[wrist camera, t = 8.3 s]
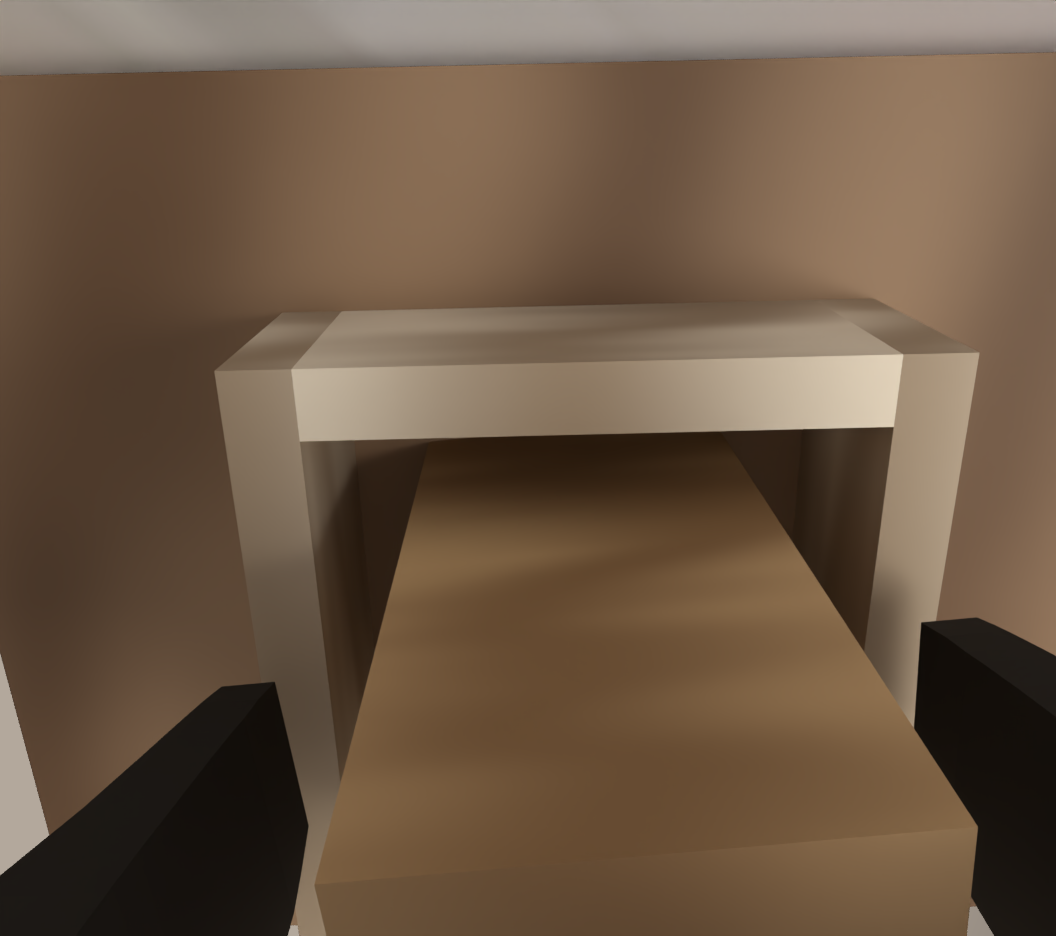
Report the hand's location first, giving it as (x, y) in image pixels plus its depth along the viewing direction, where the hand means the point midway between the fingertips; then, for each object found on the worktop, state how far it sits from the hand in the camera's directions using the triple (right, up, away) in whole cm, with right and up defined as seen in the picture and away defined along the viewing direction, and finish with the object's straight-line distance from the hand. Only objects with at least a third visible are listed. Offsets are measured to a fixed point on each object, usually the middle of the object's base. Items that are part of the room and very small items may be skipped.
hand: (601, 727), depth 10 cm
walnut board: (0, +2, +5) cm, 5 cm away
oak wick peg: (0, +2, +3) cm, 4 cm away
